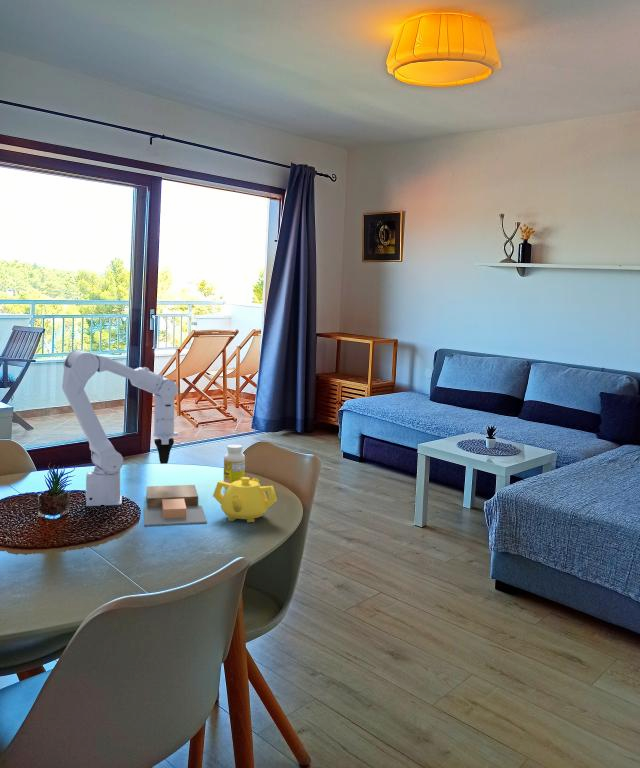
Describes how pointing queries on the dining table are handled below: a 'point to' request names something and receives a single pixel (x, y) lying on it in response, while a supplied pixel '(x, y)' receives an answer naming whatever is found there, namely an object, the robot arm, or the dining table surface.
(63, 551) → the dining table surface
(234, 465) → the supplement bottle
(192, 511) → the mat
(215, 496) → the teapot
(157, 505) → the stand
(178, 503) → the orange flat block
